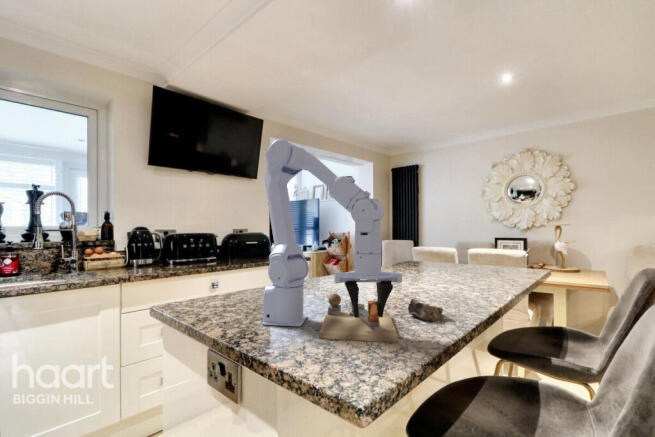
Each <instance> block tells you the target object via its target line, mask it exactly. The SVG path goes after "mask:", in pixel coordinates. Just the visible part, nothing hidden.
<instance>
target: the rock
mask: <svg viewBox="0 0 655 437" xmlns="http://www.w3.org/2000/svg"><path fill="white" fill-rule="evenodd" d="M407 312H408V314H409V315H411V316H414V317H415V318H418V319H421V320H423V321H429V322H435V321H437V320H438V319H440V317H441V316H443V312H444V308H442V307H440V306H436V305H430V304H428V303H424V302H420V301H419V300H417V299H416V298H415V299H414V298H410V303H409V304H408V307H407Z"/></svg>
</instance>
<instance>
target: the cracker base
mask: <svg viewBox="0 0 655 437" xmlns="http://www.w3.org/2000/svg"><path fill="white" fill-rule="evenodd" d="M341 299H342V298H341V296H340V295H339V294H337V293H331V294H330V295H329V297H328V299H327V300H328V303H329V305H328V307H327V312H326V314H325V317H324V319H323V322H322V325H321V328H320V329H319V334H318V336H319V337H318V339H330V340H345V341H346V340H347V341H367V342H383V343H384V342H385V343H386V342H387V343H399V342H398V338H399V336H398V334H397V331H396V328H395V325H394V322H393V320H392V316H391V313H390V312H389V313H387V312H383V317H379V327H374V328H370V327H369V326H368V325H367V324H366V323H365V322H364V321H363V320H362V319H361V318H360V317H358V318H355V317H354V313H353V312H352V310H351V311H342V310H341V309H342V305H341V302H342V300H341Z"/></svg>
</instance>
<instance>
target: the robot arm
mask: <svg viewBox="0 0 655 437" xmlns="http://www.w3.org/2000/svg"><path fill="white" fill-rule="evenodd" d="M265 157H266V168H265V173H264V185H265V186H264V187H265V193H266V197H267V198H266V200H267V203H268V204H267V205H268V212H269V218H270V225H271V226H270V227H271V230H272V231H271V232H272V236H273V243H274V244H273V245H274V248H273V250H272V251H271V253H270V254H269V256H268V258H269V259H268V260H269V265H268V269H267V274H268V278H269V280H270V282H271V283H272V284H267V285H266V286H265V288H264V291H263V299H262V306H263V307H262V322H261V324H262V325H263V326H280V327H284V326H285V327H302V326H303V324H304V322H305V321H306V319H307V317H308V315H307V314H304V289H305V288H304V286H305V279H306V277H307V276H308V275H309V270H310V266H309V264H308V263H309V262H308V261H307V259H306V258H305V254H304V251H303V250H302V248H301V247H300V246H299V245H298V244H297V239H296V238H297V237H296V232H295V226H294V220H293V214H292V208H291V201H290V196H289V189H288V184H289V182H290V181H291V180H292V179H293V178H295V177H296V176H297V175H298V174H299V173H301V172H302V171H307V172H309V173H310V174H311V175H312V176H314V178H316V179H318V180H319V181H321V182H322V183H323V184H324V185H325V186H327V188H328V195H329V196H330V197H331V198H332V199H333V200H334V201H336V202H337V203H338V204H339V205H340V206H341V207H343V208H344V209H345V210H346V211H347V212H348V213H350V217H351V218H352V220H353V221H354V222H355V223H354V271H349V272H347V271H346V272H334V274H333V275H334V276H333V279H334V280H333V282H334V284H342V283H344V286H345V288H346V290H347V293H348V296H349V299H350V302H352V306H353V312H354V317H355V318H358V317H359V310H358V304H359V292H360V288H359V286H358V283H376V297H377V298H376V301H378V302H379V317H383V313H385V312H384V311H385V307H386V304H387V302H388V299H389V297H390V295H391V293H392V291H393V289H394V284H392V283H397V284H402V283H403V274H402V273H400V272H389V271H382V220H383V218H384V216H385V215H384V214H385V208H384V206H383V205H382V203H381V202H380V200H378V199H376V198H371V197H370V196H371V193H370V192H369V191H368V190H363V189H362V187H359V185H358V184H356V183H355V182H356V180H355V179H354V178H353V177H351V176H349V177H348V176H346V175H342V176H338V175H337V174H335V173H334V172H333V171H332V170H331V169H330V168H329V167H328V166H326V165H325V164H324V163H323V162H322V161H321V160H320V159H319V158H317V157H316V156H315V155H314V154H312V153H311V152H309V151H307V150H306V149H305V148H302V147H299V146H297V145H295V144H293V143H291V142H289V141H288V140H287V139H285V138H276V139H275V140H274V141H272V143H271V144H270V145H269V146H268V148H267V149H266V151H265Z"/></svg>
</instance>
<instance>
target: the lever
mask: <svg viewBox="0 0 655 437" xmlns="http://www.w3.org/2000/svg"><path fill="white" fill-rule="evenodd" d="M349 307H350V309H351V311H352V312H353V306H352V302H351V301H350V302H349ZM365 307H366V306H365V304H363V303H358V310H359V317H360V318H361V319H362V320H363V321H364V322H365V323H366V324H367V325H368V326H369V327H370V328H374V327H379V302H378V301H377V300H368V301H367V310H366V308H365ZM353 313H354V312H353Z"/></svg>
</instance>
